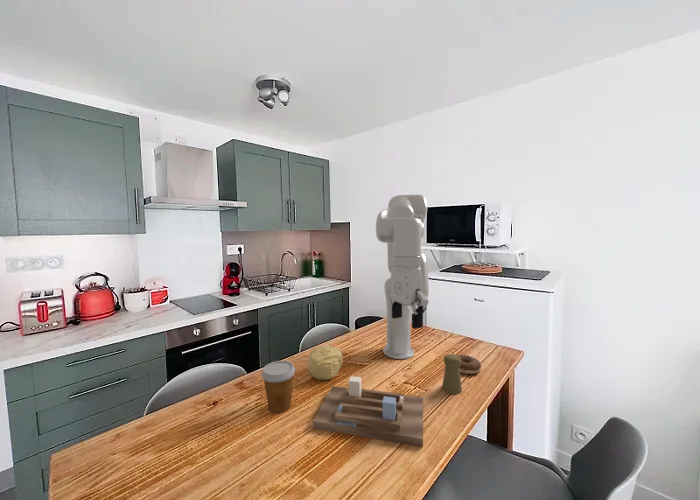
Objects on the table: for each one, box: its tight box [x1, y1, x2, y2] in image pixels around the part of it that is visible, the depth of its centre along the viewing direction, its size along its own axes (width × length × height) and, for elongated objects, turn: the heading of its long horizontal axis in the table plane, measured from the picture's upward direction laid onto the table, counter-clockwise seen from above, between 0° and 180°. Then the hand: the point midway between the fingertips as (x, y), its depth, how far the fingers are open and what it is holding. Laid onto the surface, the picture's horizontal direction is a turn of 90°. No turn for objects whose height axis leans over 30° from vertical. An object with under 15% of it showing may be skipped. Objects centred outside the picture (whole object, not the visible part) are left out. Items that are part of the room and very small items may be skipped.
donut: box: [456, 354, 482, 375], centre depth 107 cm, size 11×11×4 cm
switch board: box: [312, 385, 424, 448], centre depth 81 cm, size 17×28×3 cm, turn 76°
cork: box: [441, 353, 463, 395], centre depth 94 cm, size 6×6×11 cm
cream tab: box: [348, 375, 362, 397], centre depth 86 cm, size 3×3×6 cm
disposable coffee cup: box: [261, 360, 296, 414], centre depth 85 cm, size 10×10×12 cm
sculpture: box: [307, 344, 343, 381], centre depth 103 cm, size 11×12×11 cm
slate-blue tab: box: [382, 396, 396, 421], centre depth 76 cm, size 3×3×6 cm
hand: (406, 322), depth 82 cm, fingers open, 9 cm apart
